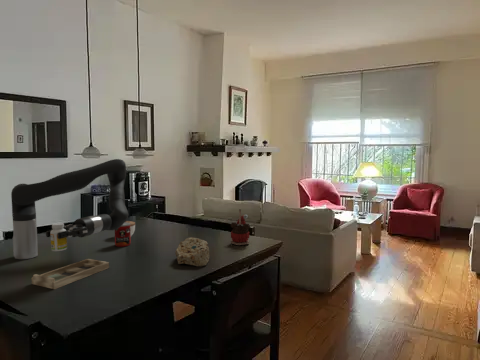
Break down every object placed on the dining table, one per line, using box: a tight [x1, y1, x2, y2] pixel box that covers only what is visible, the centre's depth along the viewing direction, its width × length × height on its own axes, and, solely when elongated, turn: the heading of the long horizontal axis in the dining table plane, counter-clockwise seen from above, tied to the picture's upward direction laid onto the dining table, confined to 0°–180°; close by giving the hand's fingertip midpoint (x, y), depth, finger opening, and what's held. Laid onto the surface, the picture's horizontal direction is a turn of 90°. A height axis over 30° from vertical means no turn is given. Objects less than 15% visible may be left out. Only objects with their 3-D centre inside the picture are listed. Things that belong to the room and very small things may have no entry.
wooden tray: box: [31, 258, 110, 290], centre depth 147 cm, size 12×26×4 cm, turn 155°
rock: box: [174, 237, 210, 267], centre depth 168 cm, size 21×14×10 cm
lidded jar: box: [125, 220, 136, 237], centre depth 210 cm, size 11×11×9 cm
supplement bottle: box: [50, 222, 68, 252], centre depth 141 cm, size 5×5×10 cm
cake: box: [230, 208, 251, 246], centre depth 195 cm, size 11×9×18 cm
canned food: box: [114, 222, 132, 248], centre depth 193 cm, size 8×8×11 cm
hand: (52, 235), depth 139 cm, fingers closed on supplement bottle, 5 cm apart
